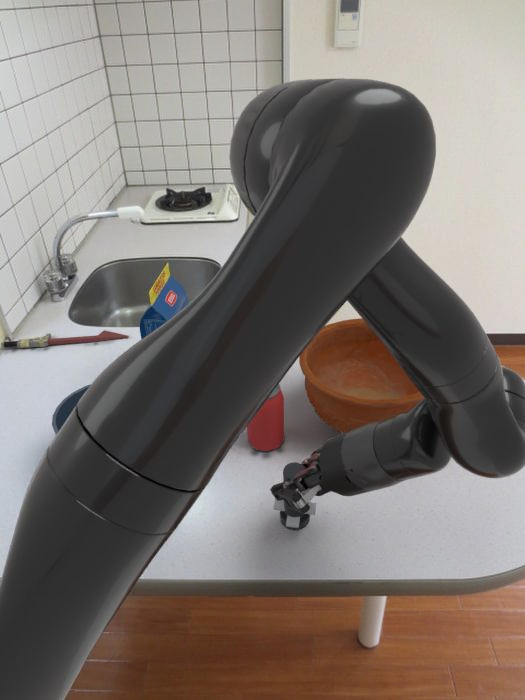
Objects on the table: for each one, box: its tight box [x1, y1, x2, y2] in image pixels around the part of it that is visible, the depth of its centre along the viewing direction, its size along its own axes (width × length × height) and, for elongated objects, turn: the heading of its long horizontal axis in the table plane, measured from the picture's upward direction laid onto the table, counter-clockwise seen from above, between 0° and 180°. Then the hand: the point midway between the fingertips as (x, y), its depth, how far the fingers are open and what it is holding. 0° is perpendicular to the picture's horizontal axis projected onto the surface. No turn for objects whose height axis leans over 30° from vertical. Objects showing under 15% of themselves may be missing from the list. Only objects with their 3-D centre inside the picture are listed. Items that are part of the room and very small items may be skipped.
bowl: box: [298, 317, 424, 434], centre depth 93 cm, size 25×25×15 cm
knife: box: [0, 329, 130, 349], centre depth 124 cm, size 29×2×5 cm
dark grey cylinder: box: [273, 461, 317, 532], centre depth 74 cm, size 6×6×10 cm
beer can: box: [246, 383, 285, 452], centre depth 91 cm, size 7×7×12 cm
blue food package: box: [139, 262, 190, 340], centre depth 101 cm, size 6×12×25 cm, turn 173°
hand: (282, 484), depth 75 cm, fingers closed on dark grey cylinder, 3 cm apart
